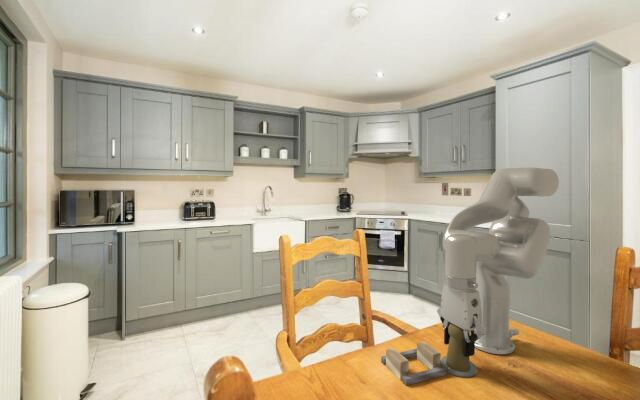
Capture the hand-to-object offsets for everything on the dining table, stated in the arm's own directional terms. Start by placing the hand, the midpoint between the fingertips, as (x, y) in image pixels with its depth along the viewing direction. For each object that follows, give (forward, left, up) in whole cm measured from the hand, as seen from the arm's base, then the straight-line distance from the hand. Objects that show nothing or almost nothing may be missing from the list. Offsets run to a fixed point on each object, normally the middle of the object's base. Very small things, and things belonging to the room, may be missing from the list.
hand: (458, 348), depth 84 cm
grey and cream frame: (+12, -4, -5) cm, 13 cm away
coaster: (0, 0, -5) cm, 5 cm away
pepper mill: (0, 0, -5) cm, 5 cm away
